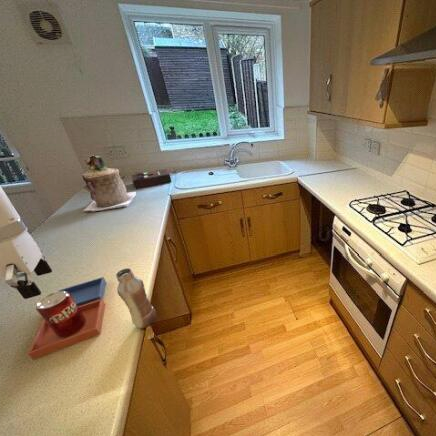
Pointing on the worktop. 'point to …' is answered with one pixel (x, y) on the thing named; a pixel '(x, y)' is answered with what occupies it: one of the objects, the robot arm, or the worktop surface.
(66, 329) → the soda can
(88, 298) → the blue tray
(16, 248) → the robot arm
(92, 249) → the worktop surface
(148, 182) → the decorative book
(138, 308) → the plastic bottle
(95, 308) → the terracotta tray
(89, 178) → the cookie jar
